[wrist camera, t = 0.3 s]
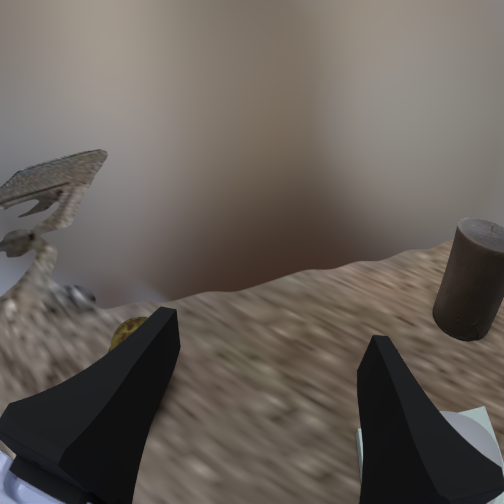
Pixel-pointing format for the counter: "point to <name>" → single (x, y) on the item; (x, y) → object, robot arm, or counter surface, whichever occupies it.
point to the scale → (472, 429)
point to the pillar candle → (472, 280)
